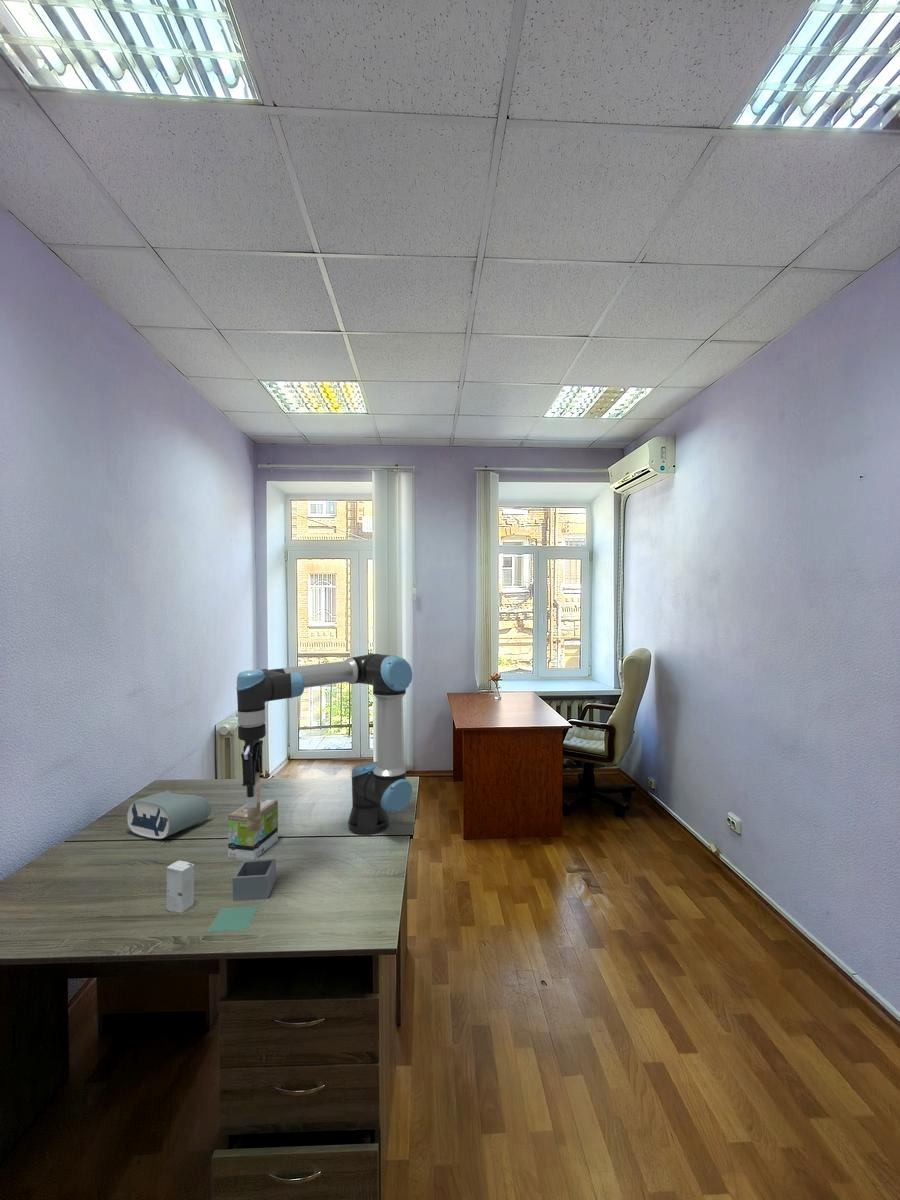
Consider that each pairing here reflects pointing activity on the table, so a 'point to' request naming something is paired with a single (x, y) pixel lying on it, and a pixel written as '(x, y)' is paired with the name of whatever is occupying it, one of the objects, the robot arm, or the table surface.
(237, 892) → the pen cup
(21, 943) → the table surface
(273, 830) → the tea box
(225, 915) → the mat
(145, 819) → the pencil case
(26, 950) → the table surface
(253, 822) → the dowel
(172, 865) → the skincare box
